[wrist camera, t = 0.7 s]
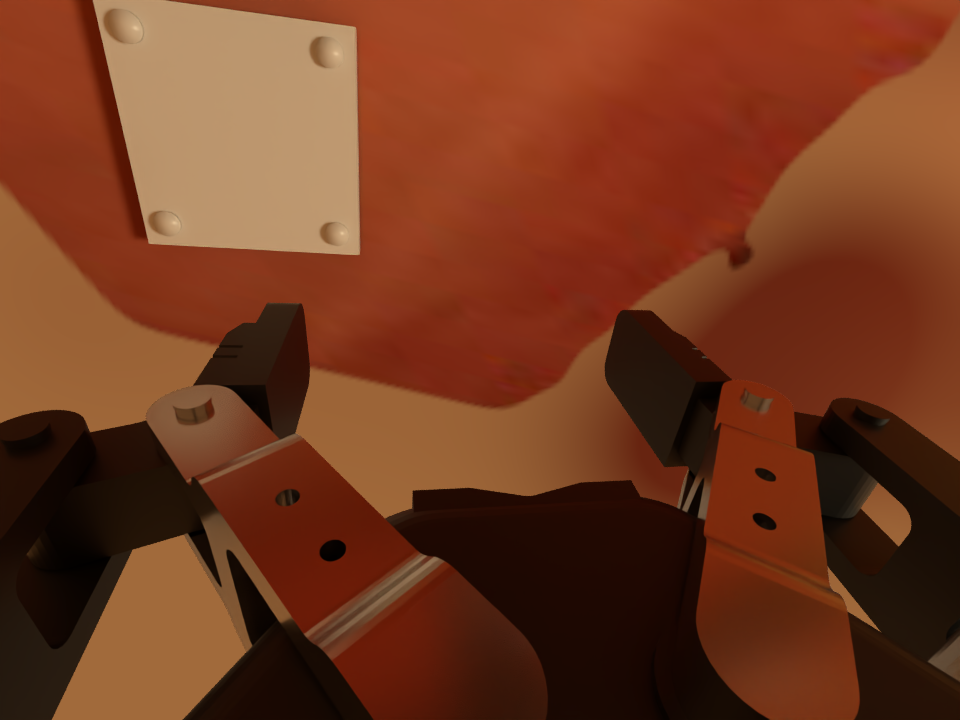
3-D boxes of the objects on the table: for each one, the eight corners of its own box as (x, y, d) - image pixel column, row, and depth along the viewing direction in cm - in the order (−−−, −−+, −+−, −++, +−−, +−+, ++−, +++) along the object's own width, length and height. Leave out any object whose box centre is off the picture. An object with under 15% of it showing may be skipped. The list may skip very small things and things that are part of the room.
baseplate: (102, -7, 27) (86, -12, 26) (356, 29, 30) (354, 26, 28) (156, 238, 34) (146, 245, 32) (360, 250, 36) (358, 256, 35)
